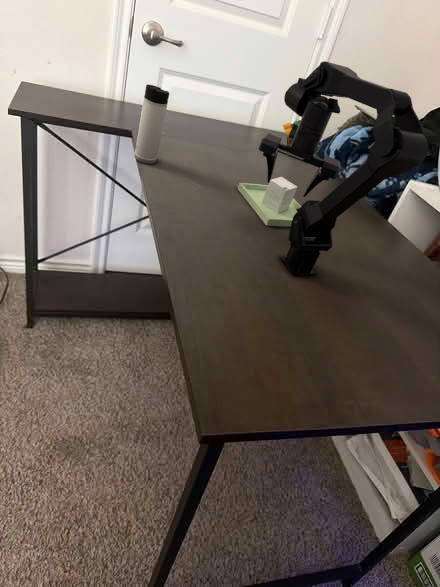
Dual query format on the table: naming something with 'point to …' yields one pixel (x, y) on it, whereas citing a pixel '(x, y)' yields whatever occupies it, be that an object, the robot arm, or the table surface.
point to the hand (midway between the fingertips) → (286, 189)
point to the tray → (268, 216)
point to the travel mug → (151, 124)
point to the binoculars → (287, 129)
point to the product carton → (279, 194)
